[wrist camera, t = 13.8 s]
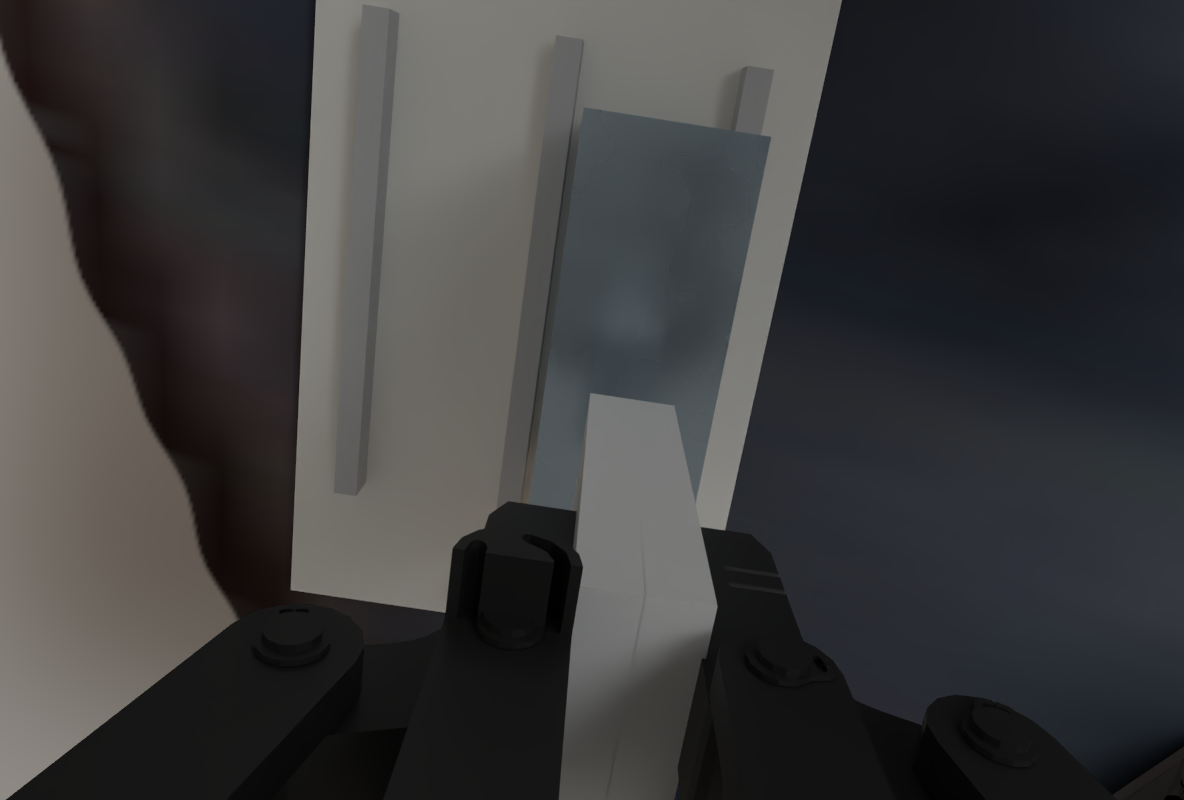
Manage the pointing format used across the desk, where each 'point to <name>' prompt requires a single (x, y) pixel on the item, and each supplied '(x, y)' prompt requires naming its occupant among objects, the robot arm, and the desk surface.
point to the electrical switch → (1157, 781)
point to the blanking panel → (646, 281)
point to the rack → (498, 248)
